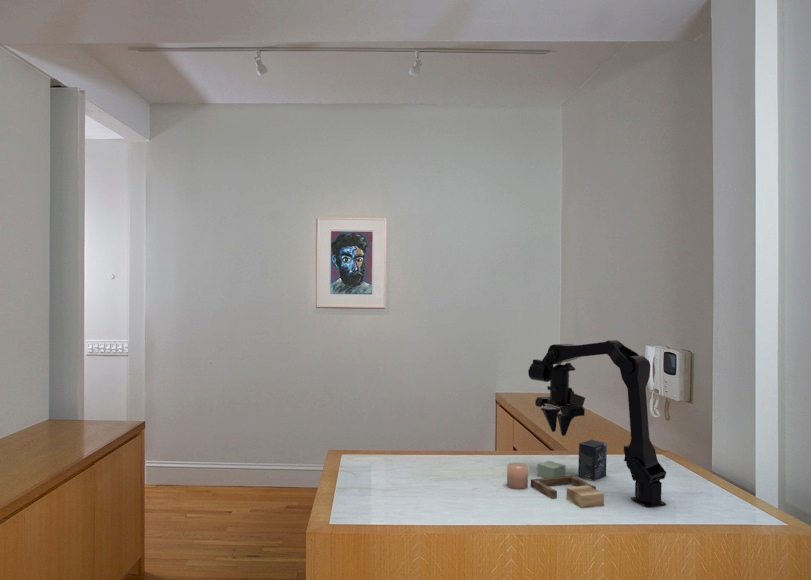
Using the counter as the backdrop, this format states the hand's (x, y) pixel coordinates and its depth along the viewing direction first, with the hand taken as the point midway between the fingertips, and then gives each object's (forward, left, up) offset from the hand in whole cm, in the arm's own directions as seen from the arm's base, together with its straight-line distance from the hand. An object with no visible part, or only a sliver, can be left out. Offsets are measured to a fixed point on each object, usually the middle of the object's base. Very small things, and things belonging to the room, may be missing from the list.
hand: (558, 433), depth 180 cm
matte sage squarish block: (-1, +3, -13) cm, 14 cm away
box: (-4, -10, -13) cm, 17 cm away
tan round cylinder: (-6, +18, -13) cm, 23 cm away
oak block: (-23, +7, -13) cm, 28 cm away
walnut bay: (-12, +7, -13) cm, 19 cm away
